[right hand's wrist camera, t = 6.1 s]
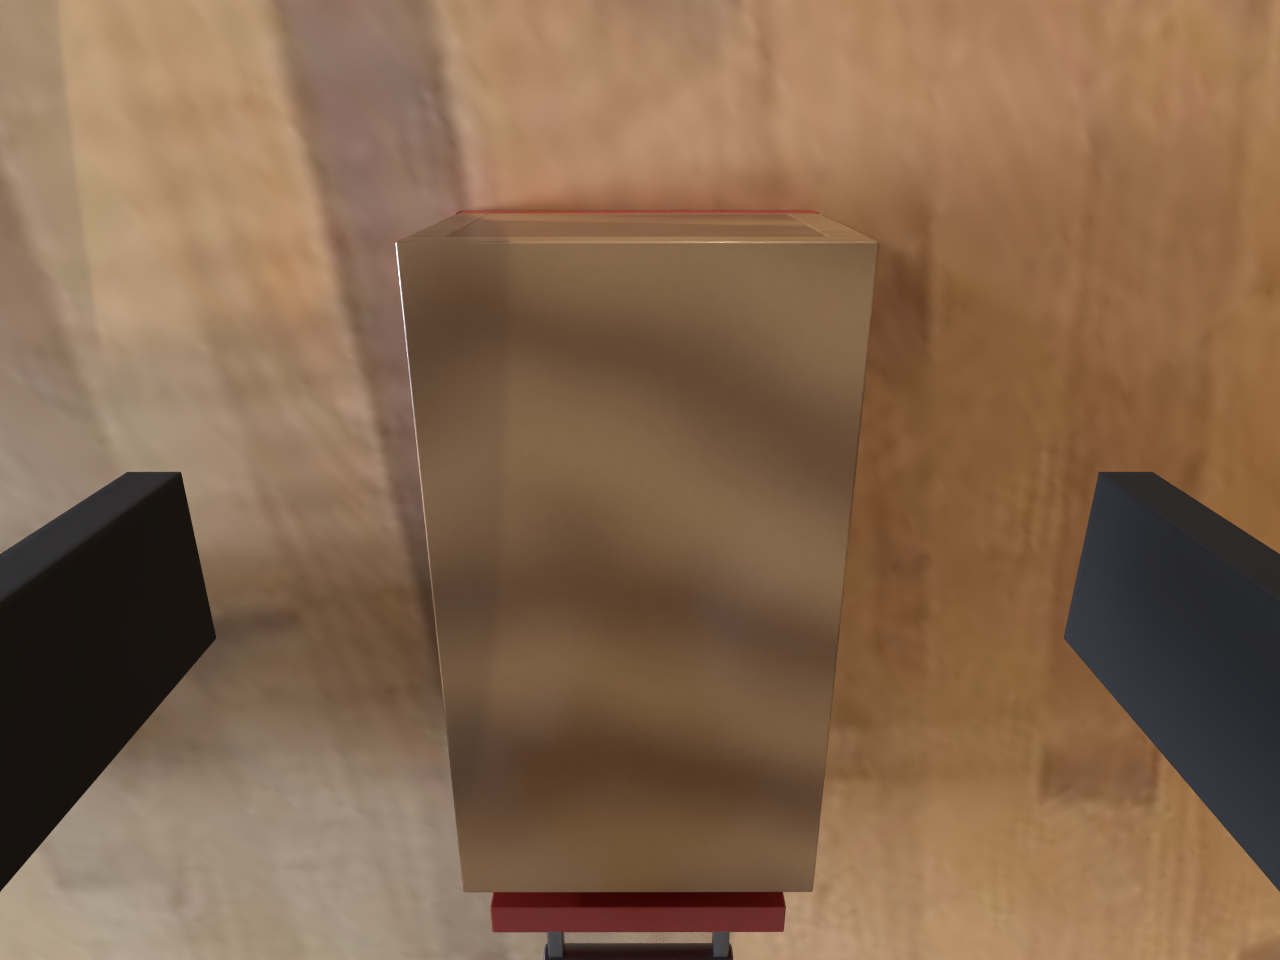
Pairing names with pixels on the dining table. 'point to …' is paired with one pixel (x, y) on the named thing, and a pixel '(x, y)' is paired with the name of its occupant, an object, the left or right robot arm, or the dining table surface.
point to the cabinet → (637, 534)
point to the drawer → (638, 920)
